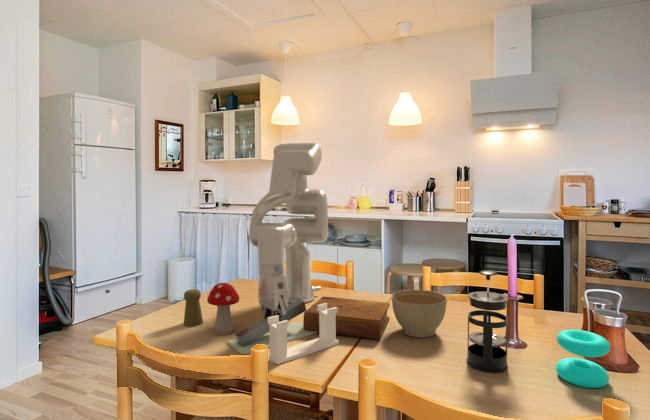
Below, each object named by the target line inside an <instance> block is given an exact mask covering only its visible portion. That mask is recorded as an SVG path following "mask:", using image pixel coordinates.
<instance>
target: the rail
mask: <svg viewBox="0 0 650 420" xmlns="http://www.w3.org/2000/svg"><path fill="white" fill-rule="evenodd" d="M285 310H286V314H285V315H283V316H282V319H281V321H284V320H288V322H289V321H291V320H292V319H294V318H296V317H297V316H299V315H301V314H304V312H305V311H306V310H307V307H306V304H305V303H304V301H301V300H299V299H298V300H297V301H295V302H293V303H289V306H288V308H286V309H285ZM276 313H278V312H275V315H276ZM268 317H272V314H271V315H269V316H267V317H266V318H264V317H263V318H262V319H260V320H258V321H256V322H255V323H253V324H251V325H249V326H247V327H246V328H244V329H242V330H240V331H238V332H236V333H235V334H234V335H235V339H237V342H238V344H239V345H241V346H242V347H244V346H246V345H247V344H249V343H251V342H253V341H254V340H256V339H258V338H260V337H261V336H263V335H265V334H267V333H268V332H269V324H268V323H267V318H268Z"/></svg>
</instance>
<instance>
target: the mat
mask: <svg viewBox="0 0 650 420" xmlns="http://www.w3.org/2000/svg"><path fill="white" fill-rule="evenodd" d="M317 333H318V332H316V331H308V330H304V323H301V322H299V321H296V322H293V323H289V327H287V343H288V342H291V341H294V340H297V339H301V338H305V337H308V336H311V335H315V334H317ZM226 343H227V345H229V346H230V347H232V348H233V349H234V350H236V351H237V352H238V353H240V354H241V355H242V354H246V355H248V354H251V348H252V347H253V346H254V345H256V344H265V345H268V348H270V339H269V332H268V333H267V334H265V335H263V336H261V337H260V338H258V339H256V340H254V341H253V342H251V343H249V344H247V345H246V346H244V347H242V346H241V345H239V344H238V342H237V339H236V338H233V339H230V340H227V342H226Z"/></svg>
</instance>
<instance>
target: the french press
mask: <svg viewBox="0 0 650 420" xmlns="http://www.w3.org/2000/svg"><path fill="white" fill-rule="evenodd" d="M478 273H479V275H483V276H485V280H486V288H487V289H486V291H473V292H469V293H468V295H467V296H468V298H469V305H470V306H471V307H473V308H476V310H472V311H469V312H468V313H467V357H466V363H467V365H468V366H469V367H470V368H473V370H474V369H475V370H477V371H479V372H483V373H488V374H489V373H490V374H499V373H504V372H505V371H507V370H508V369H509V364H508V334H509V333H508V332H509V331H508V326H509V325H508V323H509V317H508V316H507V315H505V314H503V313H501V312H498V311H502V310H505V309H506V308H507V302H508V301H509V297H508V296H506V295H504V294H502V293H497V292H492V291H490V281H491V276H497V275H498V274H499V273H498V272H496V271H492V270H480V271H478ZM477 309H478V310H477ZM479 309H480V310H479ZM476 316H479V317H480V316H482V320H479V319H475V318H473V317H476ZM491 317H493V318H497V319H499V320H502V321H498V322H496V321H495V322H492V321H491V320H492V319H491ZM470 324H471V325H475V326H477V327H482V331H476V332H472V333H470ZM502 328H505V337H503V336H502V335H499V334H497V333H494V331H493V329H502ZM470 342H471V343H472V344H470ZM504 346H505V349H504V348H502V347H504Z"/></svg>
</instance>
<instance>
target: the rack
mask: <svg viewBox="0 0 650 420" xmlns="http://www.w3.org/2000/svg"><path fill="white" fill-rule="evenodd" d="M317 310H318V311H319V332H318V334H319V337H317V338H314V339H312V340H308V341H305V342H301V343H299V344H295V345H292V346H289V347H288V342H287V327H289V324H290V323H289V321H288V320H284V321H281V322H279V316H278V315H276V316H272V317H268V318H267V323H268V324H269V339H270V347H269V353H268V354H269V359H268V360H269V361H270V362H272V363H273V362H274V363H273V364H275V363H276V364H279V365H281V364H280V363H282V364H284V363H283V362H285V363H287V361H288V362H290V360H291V361H293V360H296V359H299V358H302V357H305V356H309V355H310V354H313V353H317V352H319V351H323V350H326V349H328V348H330V347H335V346H337V345H339V344H340V339H337V336H336V335H337V334H336V313H338V308H337V307H333V308H330V309H327V303H324V304H320V305H317ZM321 310H322V311H321ZM276 364H275V365H276Z"/></svg>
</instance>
